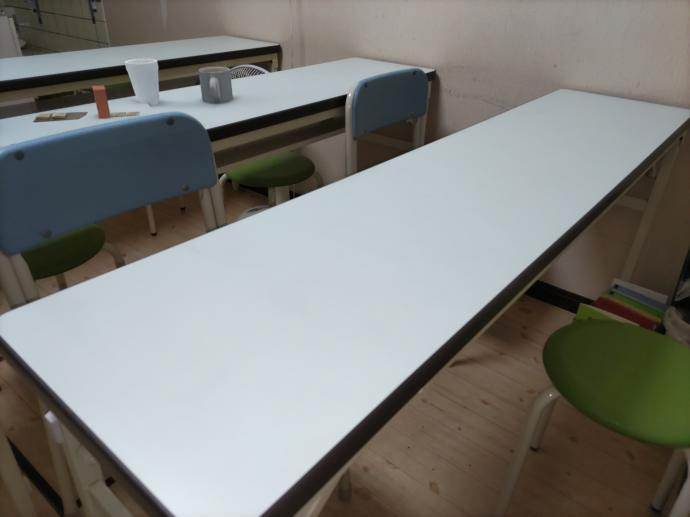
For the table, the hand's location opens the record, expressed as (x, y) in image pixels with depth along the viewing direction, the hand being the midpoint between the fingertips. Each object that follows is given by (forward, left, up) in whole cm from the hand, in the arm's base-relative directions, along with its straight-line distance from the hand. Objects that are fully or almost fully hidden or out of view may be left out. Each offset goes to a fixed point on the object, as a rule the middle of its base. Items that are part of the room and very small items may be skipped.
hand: (67, 21), depth 144 cm
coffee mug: (+39, +1, -25) cm, 46 cm away
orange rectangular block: (+7, -14, -23) cm, 28 cm away
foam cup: (+18, +2, -25) cm, 31 cm away
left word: (-5, -12, -24) cm, 28 cm away
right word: (+10, -14, -24) cm, 30 cm away
